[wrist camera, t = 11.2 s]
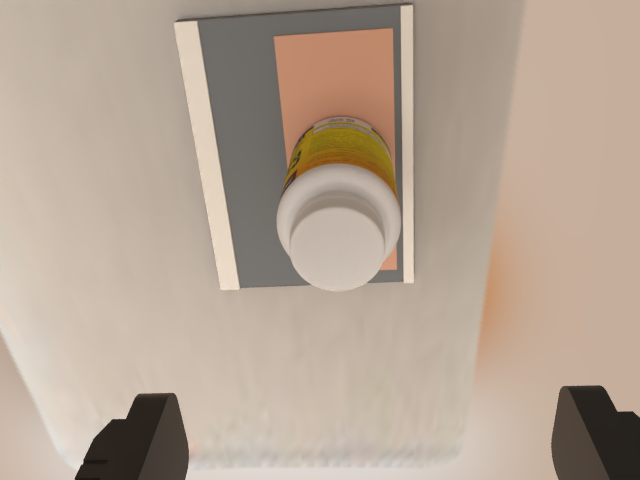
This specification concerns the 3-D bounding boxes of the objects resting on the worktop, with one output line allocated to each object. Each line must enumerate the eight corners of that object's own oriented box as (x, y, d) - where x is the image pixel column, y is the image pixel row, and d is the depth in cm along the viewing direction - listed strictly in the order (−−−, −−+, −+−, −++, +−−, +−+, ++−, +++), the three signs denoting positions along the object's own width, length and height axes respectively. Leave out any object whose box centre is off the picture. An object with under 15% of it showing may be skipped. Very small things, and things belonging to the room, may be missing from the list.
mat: (223, 281, 39) (220, 290, 38) (178, 20, 31) (173, 22, 30) (412, 274, 38) (413, 282, 37) (411, 2, 30) (413, 5, 30)
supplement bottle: (292, 110, 32) (269, 183, 23) (396, 116, 32) (413, 192, 23) (290, 205, 35) (268, 304, 26) (386, 211, 35) (398, 312, 26)
